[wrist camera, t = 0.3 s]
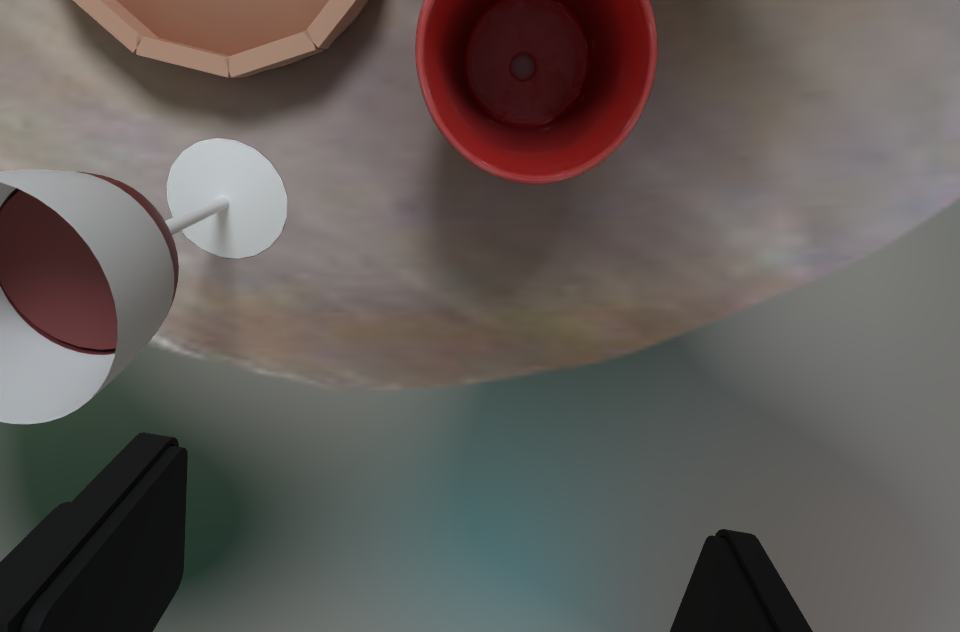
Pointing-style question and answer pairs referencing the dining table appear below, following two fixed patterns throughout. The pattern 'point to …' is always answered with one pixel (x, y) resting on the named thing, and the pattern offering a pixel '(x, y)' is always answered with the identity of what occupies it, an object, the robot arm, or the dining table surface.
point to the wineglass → (111, 266)
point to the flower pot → (536, 80)
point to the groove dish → (225, 30)
